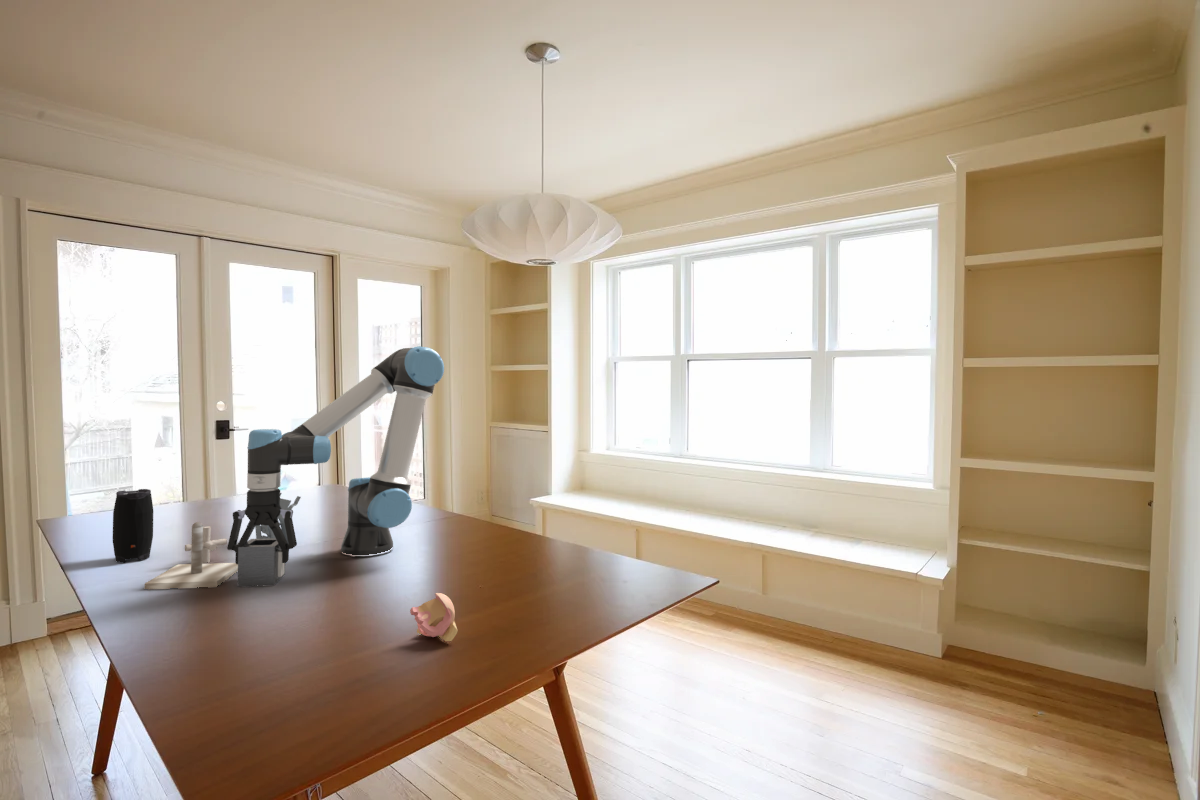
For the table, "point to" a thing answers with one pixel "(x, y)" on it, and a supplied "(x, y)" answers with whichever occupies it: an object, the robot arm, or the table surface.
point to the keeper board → (193, 579)
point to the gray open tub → (258, 562)
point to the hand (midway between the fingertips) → (262, 575)
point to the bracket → (284, 506)
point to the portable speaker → (132, 525)
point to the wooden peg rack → (207, 544)
